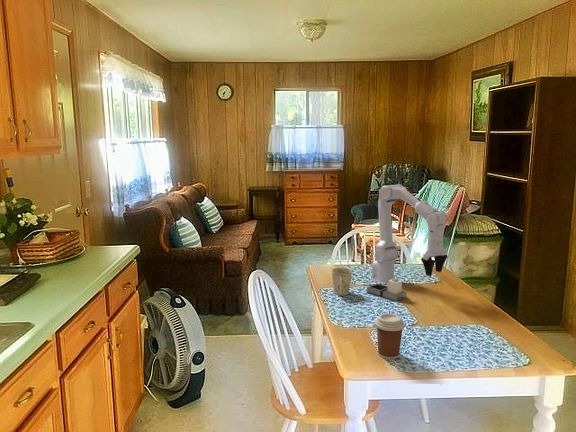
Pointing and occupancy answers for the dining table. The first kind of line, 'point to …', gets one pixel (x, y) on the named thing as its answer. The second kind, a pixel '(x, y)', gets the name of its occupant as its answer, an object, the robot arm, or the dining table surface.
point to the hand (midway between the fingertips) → (433, 273)
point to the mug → (341, 280)
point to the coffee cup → (389, 335)
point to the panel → (385, 292)
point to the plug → (395, 286)
